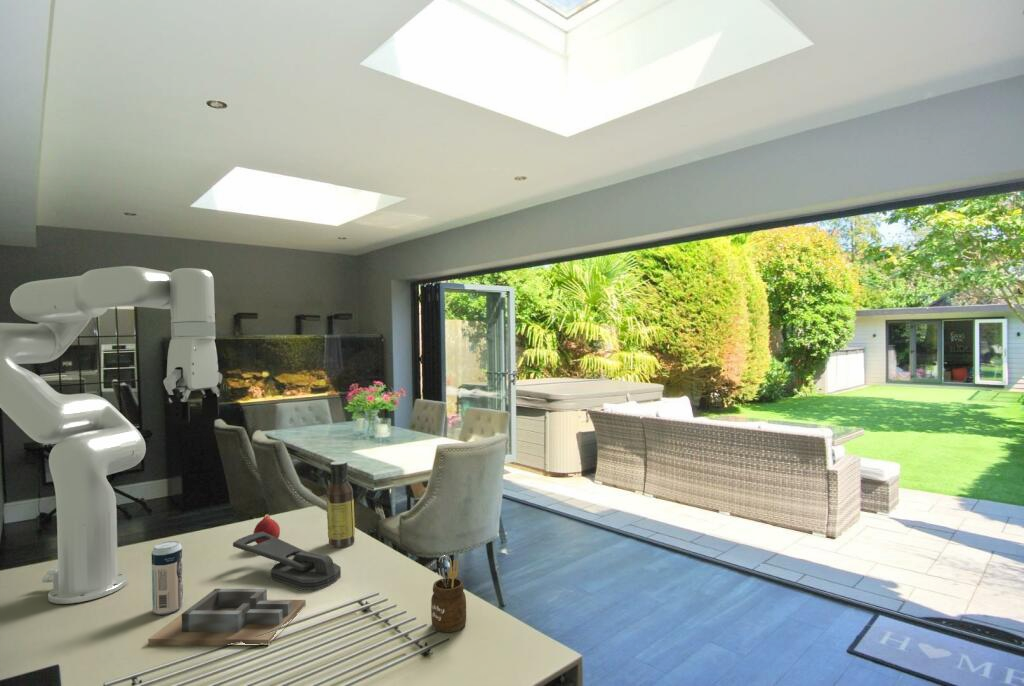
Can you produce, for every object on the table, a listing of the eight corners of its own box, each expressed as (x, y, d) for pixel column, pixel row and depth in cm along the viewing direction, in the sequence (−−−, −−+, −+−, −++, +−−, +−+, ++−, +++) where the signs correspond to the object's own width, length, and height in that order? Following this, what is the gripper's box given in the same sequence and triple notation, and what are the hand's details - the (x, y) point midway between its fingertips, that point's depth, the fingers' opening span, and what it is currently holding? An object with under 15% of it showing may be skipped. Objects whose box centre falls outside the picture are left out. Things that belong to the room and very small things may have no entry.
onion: (273, 552, 131) (272, 518, 131) (249, 553, 131) (248, 519, 131) (284, 544, 137) (283, 511, 137) (260, 544, 137) (259, 511, 137)
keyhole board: (148, 645, 91) (147, 620, 91) (201, 604, 105) (200, 583, 105) (268, 645, 90) (268, 620, 90) (305, 605, 104) (305, 583, 104)
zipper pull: (262, 529, 128) (346, 544, 117) (263, 558, 128) (347, 576, 117) (227, 542, 120) (314, 559, 109) (228, 573, 120) (315, 593, 109)
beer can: (188, 607, 104) (187, 542, 104) (160, 618, 100) (159, 551, 100) (174, 601, 106) (173, 538, 106) (147, 612, 102) (146, 546, 102)
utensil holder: (458, 613, 99) (457, 545, 99) (472, 628, 94) (471, 556, 94) (426, 621, 97) (425, 551, 97) (439, 638, 91) (437, 563, 91)
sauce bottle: (338, 538, 140) (336, 458, 140) (360, 540, 138) (358, 459, 138) (322, 547, 134) (320, 463, 134) (344, 549, 132) (342, 465, 132)
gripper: (200, 333, 118) (203, 414, 118) (144, 332, 101) (147, 426, 101) (235, 332, 118) (238, 413, 118) (185, 330, 101) (188, 425, 101)
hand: (196, 419), depth 110 cm, fingers open, 9 cm apart
